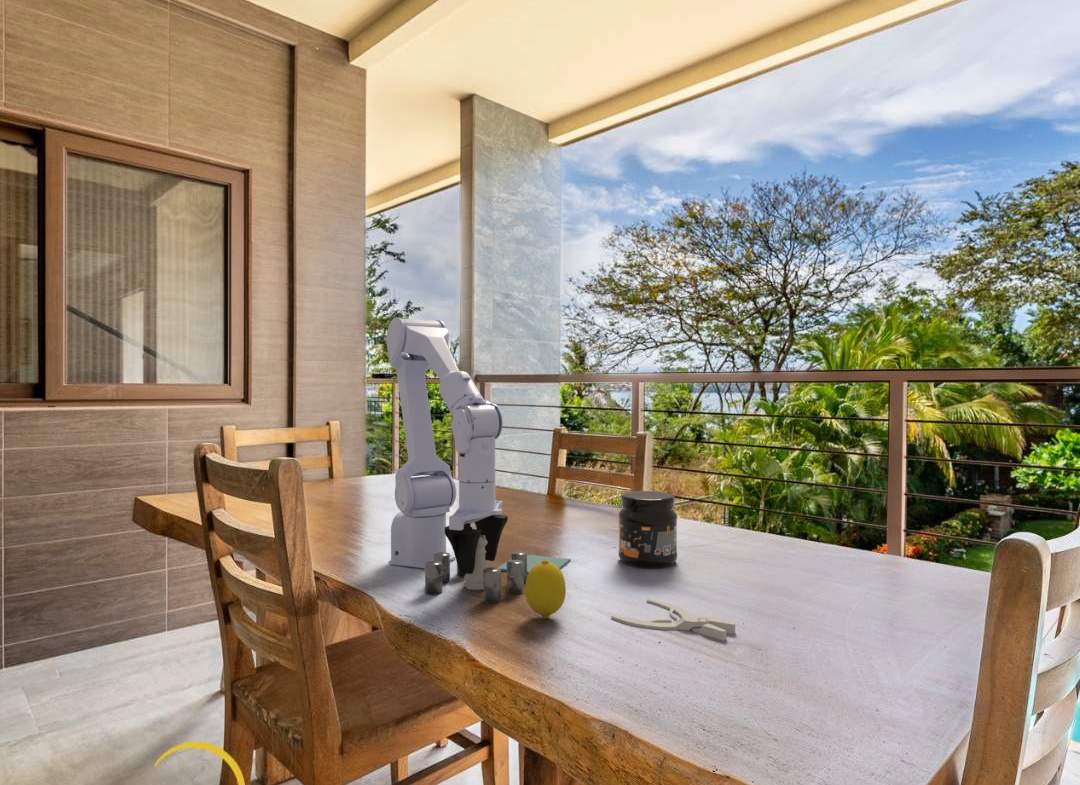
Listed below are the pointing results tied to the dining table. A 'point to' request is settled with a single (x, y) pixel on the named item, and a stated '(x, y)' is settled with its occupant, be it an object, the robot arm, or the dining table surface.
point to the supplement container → (647, 529)
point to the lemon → (545, 588)
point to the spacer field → (516, 576)
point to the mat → (534, 560)
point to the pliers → (684, 622)
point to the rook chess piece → (477, 567)
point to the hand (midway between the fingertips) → (477, 566)
